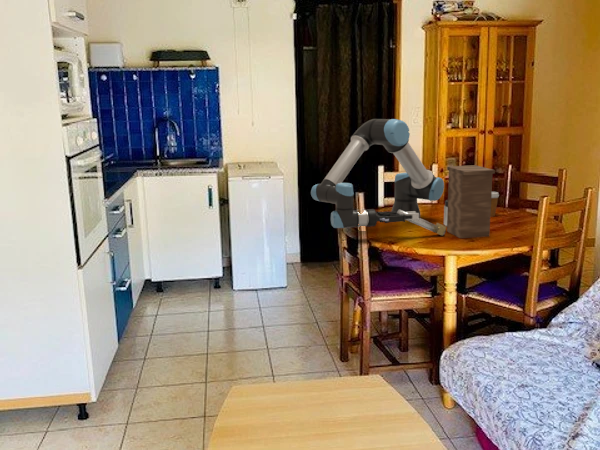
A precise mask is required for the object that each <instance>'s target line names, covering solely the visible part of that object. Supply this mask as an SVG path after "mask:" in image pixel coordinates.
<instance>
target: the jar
mask: <svg viewBox="0 0 600 450" xmlns="http://www.w3.org/2000/svg"><path fill="white" fill-rule="evenodd" d="M447 215H448V199H446V200H445V201H444V206H443V225H444V226H446V227H447Z"/></svg>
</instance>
